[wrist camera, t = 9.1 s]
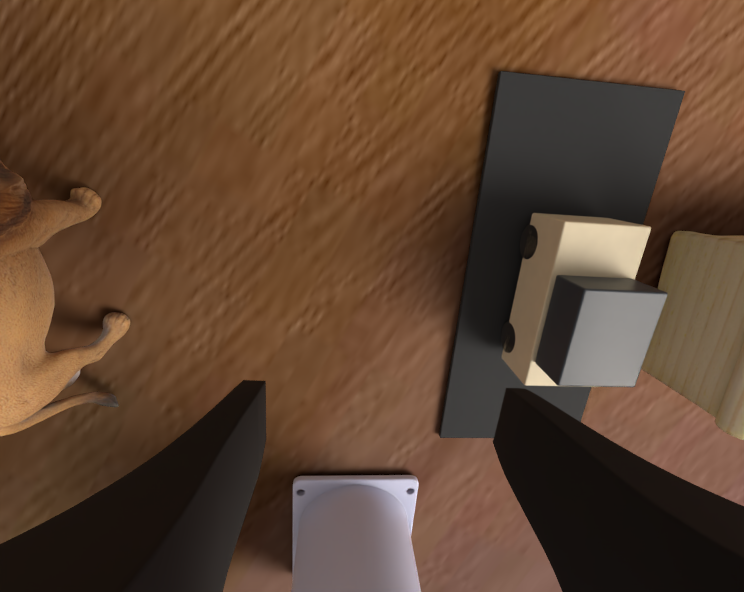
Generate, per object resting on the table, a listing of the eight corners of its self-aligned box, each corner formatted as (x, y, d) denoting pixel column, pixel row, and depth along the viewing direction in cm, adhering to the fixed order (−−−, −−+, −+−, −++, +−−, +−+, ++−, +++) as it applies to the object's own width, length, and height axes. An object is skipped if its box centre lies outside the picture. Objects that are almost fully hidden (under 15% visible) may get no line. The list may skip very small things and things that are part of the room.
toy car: (561, 354, 21) (630, 412, 16) (496, 352, 21) (545, 411, 16) (599, 216, 19) (695, 235, 14) (525, 211, 18) (596, 228, 13)
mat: (572, 435, 24) (575, 438, 24) (438, 434, 23) (440, 437, 23) (680, 91, 17) (685, 90, 17) (498, 72, 16) (500, 70, 16)
